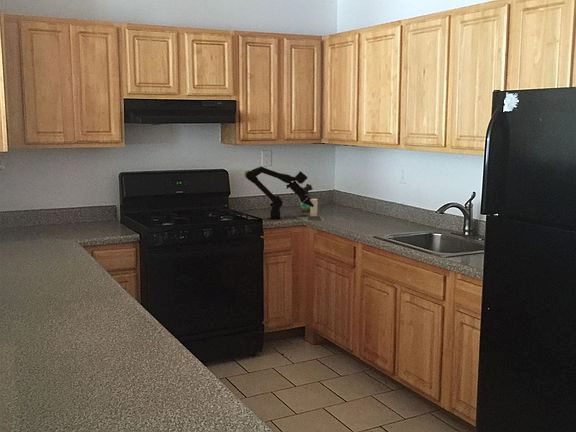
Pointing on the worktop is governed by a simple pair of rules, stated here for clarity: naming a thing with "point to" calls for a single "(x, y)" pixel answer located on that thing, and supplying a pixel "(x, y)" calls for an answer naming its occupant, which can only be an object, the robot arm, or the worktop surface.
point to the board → (311, 218)
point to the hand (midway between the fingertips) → (313, 205)
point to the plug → (314, 209)
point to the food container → (304, 207)
